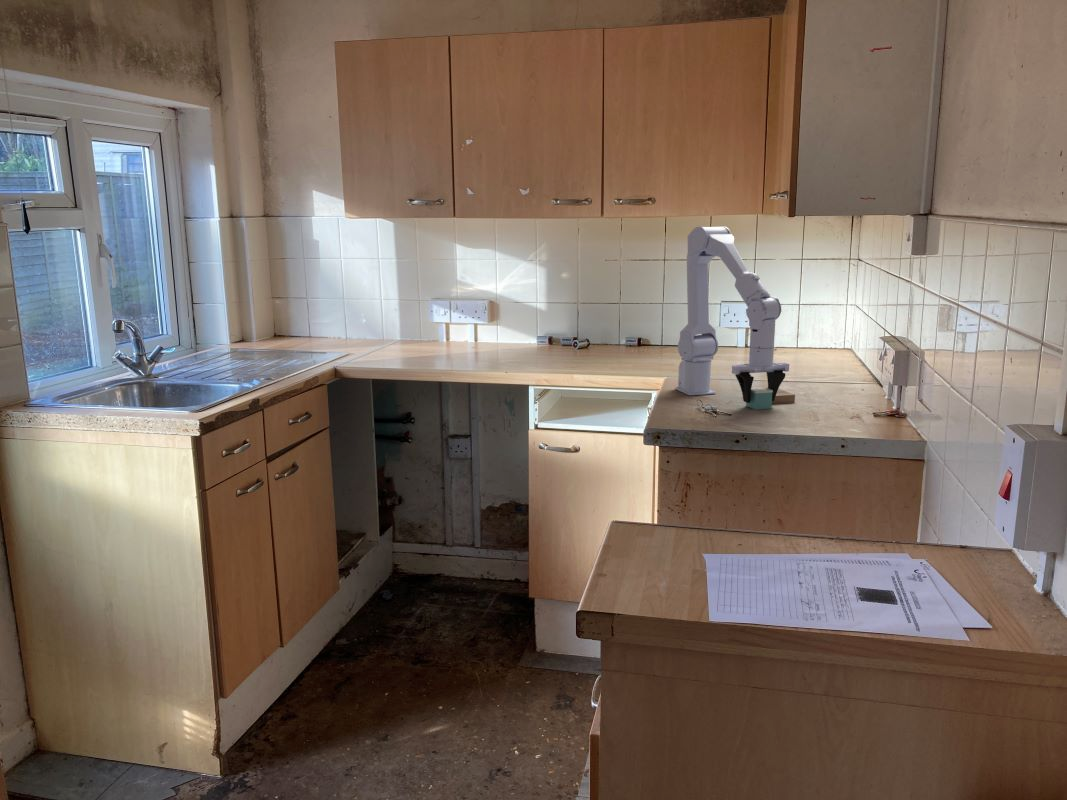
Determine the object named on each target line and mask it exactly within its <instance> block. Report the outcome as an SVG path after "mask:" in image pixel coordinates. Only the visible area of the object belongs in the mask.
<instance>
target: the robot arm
mask: <svg viewBox="0 0 1067 800" xmlns="http://www.w3.org/2000/svg"><path fill="white" fill-rule="evenodd" d="M734 243H735V237H734V235H733V234H732V232H731V229H729V228H728V227H727V226H724V225H721V226H696V227H694V228H693V229H692V230H691V231H690V233H689V234H688V235H687V255H686V284H687V285H686V286H687V287H686V288H687V289H686V290H687V292H686V293H687V295H686V296H687V297H686V298H687V299H686V300H687V324H686V325H685V326H684V327H683V329H682V330H680V331H679V341H678V343H677V351H678V354H679V356H680V357H681V361H680V363H679V366H678V381H677V382H678V383H677V386H675V387H674V389H675V390H677V391H678V392H681V393H683V394H686V395H688V396H700V395H701V396H702V395H716V394H717V392H716V391H715V390H713V389H711V376H712V360H714V356H716V354H717V353H718V351H719V342H718V339H717V335H716V334H717V333H716V328H714V327H713V326H712V325H711V324H710V320H709V319H710V318H709V312H710V310H709V306H710V305H709V263H710V262H711V261H712V260H713V259H714V258H715V257H718V258H720V259H721V261H722V262H723V264H724V266H726V268H727V269H728V270H729V272H730V273H731V275H732V276H733V277H734V278H735V281H734V287H735V289H736V290H737V292H738V293H739V295H740V297H741V298H742V300H743V302H744V304H745V305H746V306H747V308H746V309H745V313H746V316H747V319H748V323H749V324H748V326H749V329H750V333H749V334H750V337H749V353H748V355H749V357H748V360H749V361H748V363H744V364H742V363H741V364H734V365H733V364H732V366H731V374H734V376H735V378H736V380H737V382H738V384H739V387H740V390H741V394H742V398H743V399H742V401H743V402H744V403H745V404H746V403H750V400H751V387H752V386H753V382H754V379H755V377H754V376H752V374H755V373H756V374H757V373H766V379H767V388H768V389H771V390H773V392H772V401H774V400H775V397H776V394H777V391H778V388H779V389H780V386H781V384H782V383H783V381H784V380H785V378H786V373H785V372H788V373H789V371H790V363H788V362H774V352H775V336H776V335H775V333H776V320H777V319H779V317H780V316H781V314H782V304H781V302H780V300H779V299H778V297H776V296H772V295H771V293H769V292H768V291H767V290H766V288H765V287H764V285H763V283H762V281H760V279H761V278H760V276H759V275H758V274H757V273H755V272H751V271H749V270H748V269H747V266H746V265H745V262H744V260H743V259H742V257H741V255H740V254H739V251H738V249H737V248H736V246H735V244H734Z"/></svg>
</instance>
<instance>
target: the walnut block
mask: <svg viewBox="0 0 1067 800" xmlns="http://www.w3.org/2000/svg"><path fill="white" fill-rule="evenodd" d="M795 400H796V394H794V393H792V392H789V391H787V390H785V389H781V388H780V387H779V388H778V391H777V394H776V397H775V400H774V401H772V405H776V404H779V405H780V404H791V403H792V404H793V403H794V404H795V403H796V401H795Z"/></svg>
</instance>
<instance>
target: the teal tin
mask: <svg viewBox="0 0 1067 800" xmlns="http://www.w3.org/2000/svg"><path fill="white" fill-rule="evenodd" d="M772 392H773V390H771V389H768V387H765V386H755V387H754V386H753V387H751V400H750V403H746V402H745V406H746V407H748V408H750V409H752V410H758V411H759V410H768V409H771V410H772V407H773V404H772Z"/></svg>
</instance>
